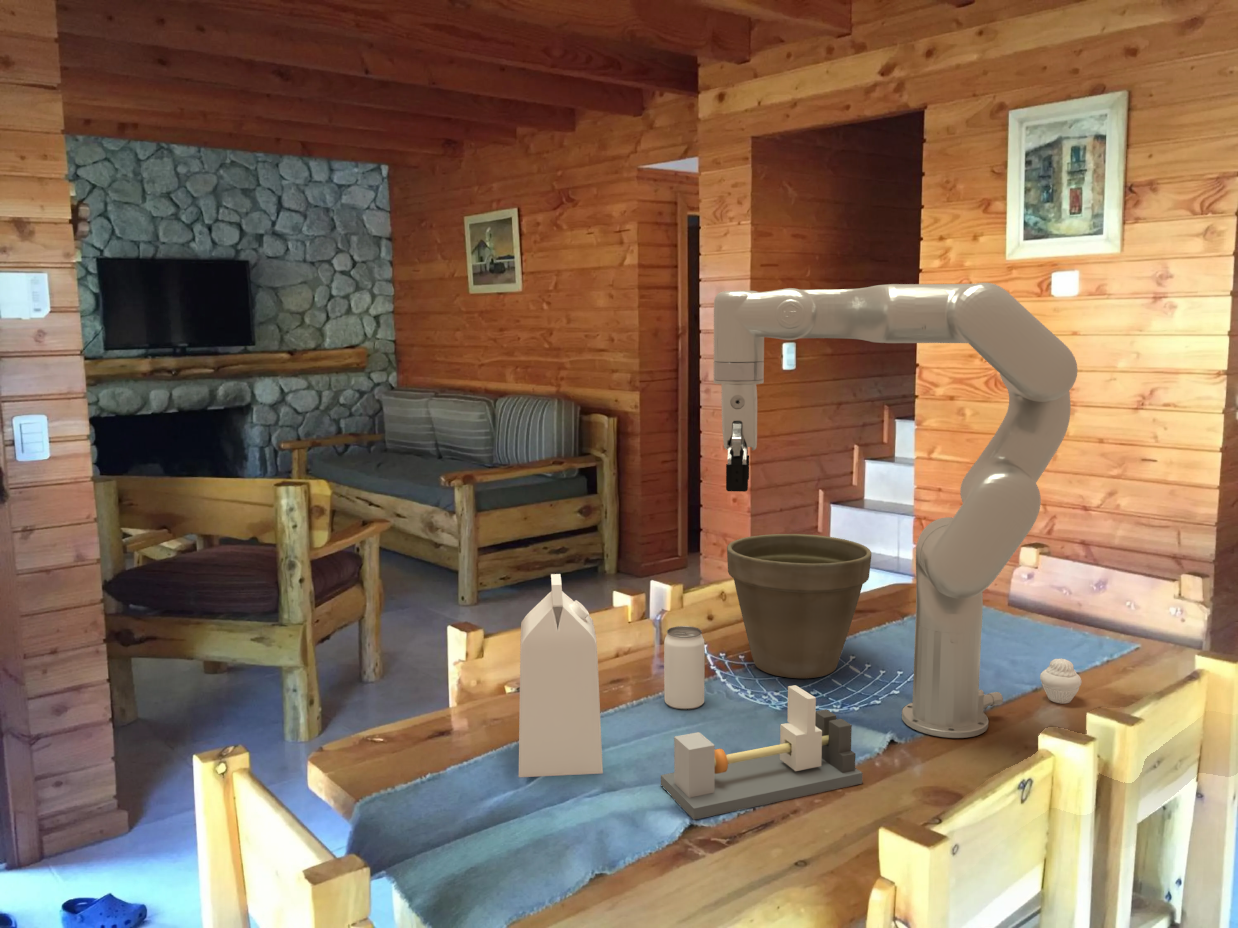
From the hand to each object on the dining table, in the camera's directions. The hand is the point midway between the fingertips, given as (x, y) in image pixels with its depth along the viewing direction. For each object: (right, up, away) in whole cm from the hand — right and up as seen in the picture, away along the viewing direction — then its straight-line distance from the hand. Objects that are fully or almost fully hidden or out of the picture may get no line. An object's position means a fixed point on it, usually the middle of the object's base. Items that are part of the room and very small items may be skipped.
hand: (737, 485), depth 155 cm
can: (-8, -36, +9) cm, 37 cm away
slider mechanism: (+1, -40, -20) cm, 44 cm away
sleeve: (+6, -37, -18) cm, 42 cm away
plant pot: (+13, -33, +26) cm, 44 cm away
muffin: (+53, -35, +8) cm, 64 cm away
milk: (-27, -39, -11) cm, 48 cm away
